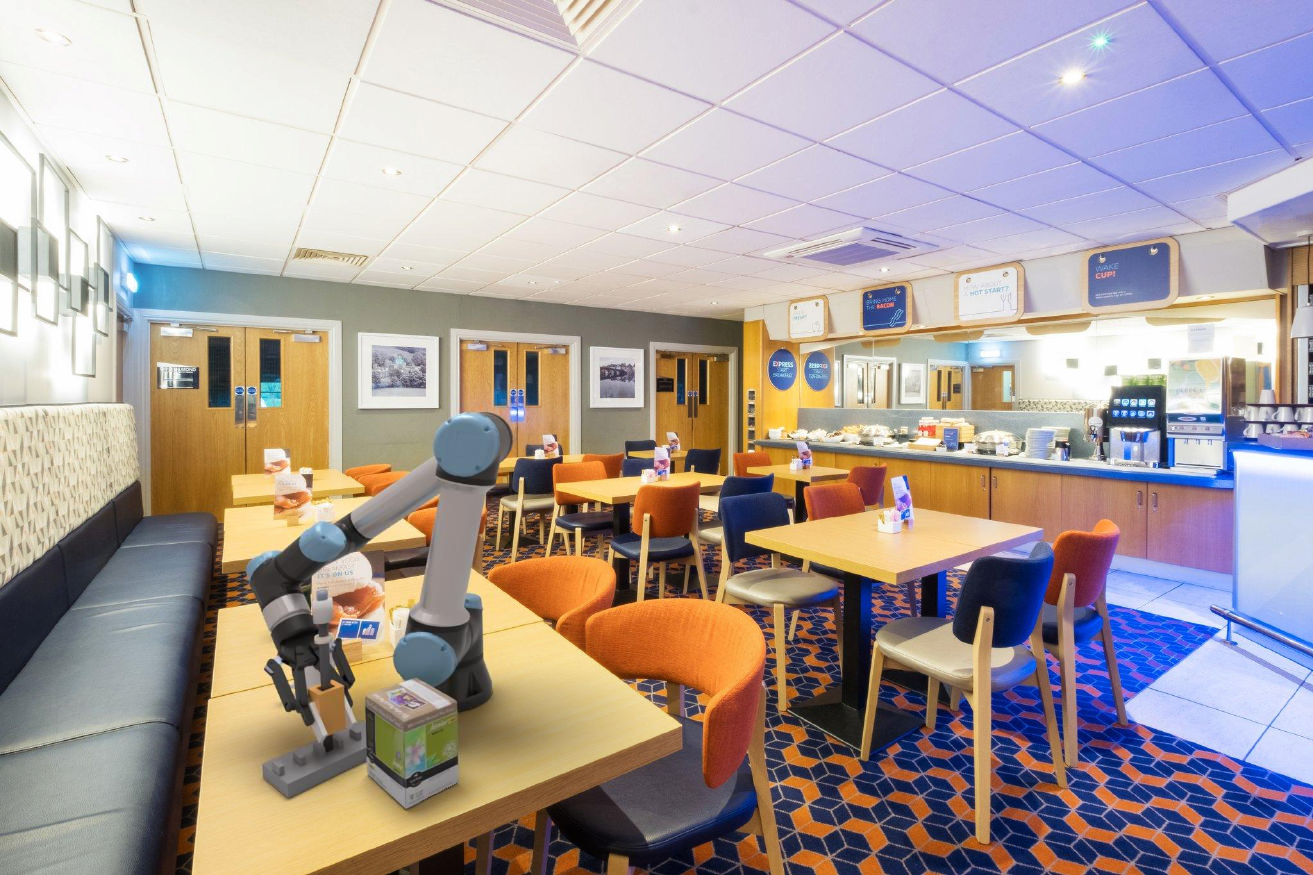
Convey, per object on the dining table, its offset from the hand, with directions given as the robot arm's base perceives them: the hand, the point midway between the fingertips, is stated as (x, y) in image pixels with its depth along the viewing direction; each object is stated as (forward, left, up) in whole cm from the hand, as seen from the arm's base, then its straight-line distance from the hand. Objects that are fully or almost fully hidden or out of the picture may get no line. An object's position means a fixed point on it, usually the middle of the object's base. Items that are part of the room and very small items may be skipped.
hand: (337, 731), depth 109 cm
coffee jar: (+42, -67, -7) cm, 80 cm away
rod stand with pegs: (+3, -2, -7) cm, 8 cm away
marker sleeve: (+3, -2, -1) cm, 4 cm away
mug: (+20, -29, -7) cm, 36 cm away
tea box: (-14, +4, -7) cm, 16 cm away
